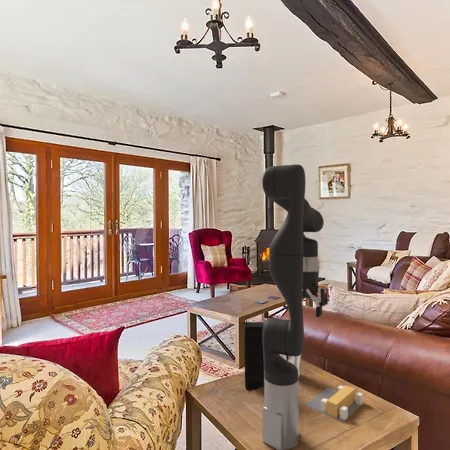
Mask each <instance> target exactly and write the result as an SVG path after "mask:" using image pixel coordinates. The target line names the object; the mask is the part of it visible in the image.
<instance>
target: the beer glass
mask: <svg viewBox="0 0 450 450" xmlns="http://www.w3.org/2000/svg"><path fill="white" fill-rule="evenodd" d="M282 357H283V358H284V359H285V360H287V361H289V362H291V363H292V364H294V365H295V366H296V367H297V369H298V378H300V377H301V376H300V364H301V358H302V354H301V355H300V356H287V355H282Z"/></svg>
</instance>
